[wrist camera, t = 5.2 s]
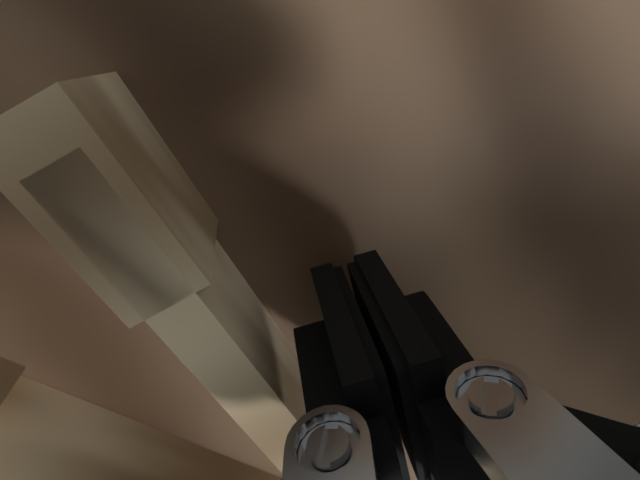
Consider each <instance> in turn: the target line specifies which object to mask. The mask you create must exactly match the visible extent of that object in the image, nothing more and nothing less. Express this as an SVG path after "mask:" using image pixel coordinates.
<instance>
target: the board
mask: <svg viewBox="0 0 640 480" xmlns="http://www.w3.org/2000/svg"><path fill="white" fill-rule="evenodd" d="M110 72H117V74H118V75H119V76H120V78H121V79H122V81H123V82H124V84H125V85H126V87H127V88H128V89H129V91H130V92H131V94H132V95H133V97H134V98H135V100H136V101H137V103H138V104H139V105H140V107H141V108H142V110H143V111H144V113H145V114H146V116H147V117H148V119H149V120H150V121H151V123H152V124H153V126H154V127H155V129H156V130H157V132H158V133H159V135H160V136H161V137H162V139H163V140H164V142H165V143H166V145H167V146H168V148H169V149H170V150H171V152H172V153H173V155H174V156H175V158H176V159H177V161H178V162H179V164H180V165H181V166H182V168H183V169H184V171H185V172H186V174H187V175H188V177H189V178H190V180H191V181H192V182H193V184H194V185H195V187H196V188H197V190H198V191H199V193H200V194H201V196H202V197H203V198H204V200H205V201H206V203H207V204H208V206H209V207H210V209H211V210H212V212H213V213H214V214H215V216H216V217H217V219H218V226H217V235H216V239H217V241H218V242H219V244H220V245H221V246H222V248H223V249H224V251H225V252H226V254H227V255H228V256H229V258H230V259H231V261H232V262H233V263H234V265H235V266H236V268H237V269H238V270H239V272H240V273H241V275H242V276H243V278H244V279H245V280H246V282H247V283H248V285H249V286H250V287H251V289H252V290H253V292H254V293H255V294H256V296H257V297H258V299H259V300H260V301H261V303H262V304H263V306H264V307H265V309H266V310H267V311H268V313H269V314H270V316H271V317H272V318H273V320H274V321H275V323H276V324H277V325H278V327H279V328H280V330H281V331H282V333H283V334H284V335H285V337H286V338H287V340H288V341H289V342H290V344H291V345H292V347H293V348H294V349H295V351H296V345H295V338H294V331H293V329H294V328H297V327H300V326H304V325H307V324H310V323H314V322H317V321H321V320H324V318H323V314H322V311H321V307H320V303H319V300H318V296H317V293H316V289H315V285H314V282H313V278H312V274H311V271H310V268H313V267H316V266H320V265H323V264H327V263H330V262H331V263H332V266H333V268H334V267H337V266H342V269H343V271H344V273H345V276H346V278H347V280H348V283H349V285H350V287H351V290H352V292H353V288H352V284H351V280H350V276H349V272H348V268H347V263H351V262H354V255H358V254H361V253H365V252H368V251H372V250H376V251H377V253H378V254H379V256H380V258H381V259H382V261H383V262H384V264H385V265H386V267H387V269H388V270H389V272H390V273H391V275H392V277H393V278H394V280H395V281H396V283H397V285H398V286H399V288H400V289H401V291H402V293H403V294H404V296H406V295H409V294H412V293H416V292H419V291H424V292H425V293H426V294H427V295H428V296H429V298H430V299H431V301H432V302H433V303H434V305H435V306H436V307H437V309H438V310H439V312H440V313H441V314H442V316H443V317H444V319H445V320H446V321H447V323H448V324H449V325H450V327H451V328H452V330H453V331H454V332H455V334H456V335H457V337H458V338H459V339H460V341H461V342H462V344H463V345H464V346H465V348H466V349H467V350H468V352H469V353H470V355H471V356H472V357H473V359H474V360H485V359H491V360H497V361H503V362H506V363H508V364H511V365H514V366H516V367H517V368H519V369H520V370H522V371H523V372H525V373H526V374H527V375H528V376H530V377H531V378H532V379H533V380H534V381H535V382H536V383H537V384H539V385H540V386H541V387H542V388H543V389H544V390H545V391H546V392H548V393H549V394H550V395H551V396H552V397H553V398H554V399H555V400H557V401H558V402H559V403H560V404H561V405H564V406H567V407H571V408H574V409H577V410H581V411H584V412H588V413H591V414H594V415H598V416H601V417H605V418H608V419H611V420H615V421H618V422H622V423H625V424H628V425H632V426H634V425H636V424H637V423H639V422H640V0H3V2H2V3H1V4H0V115H1V114H3V113H4V112H6V111H8V110H9V109H11V108H13V107H15V106H16V105H18V104H20V103H22V102H23V101H25V100H27V99H28V98H30V97H32V96H34V95H35V94H37V93H39V92H41V91H42V90H44V89H46V88H47V87H49V86H51V85H53V84H54V83H56V82H60V81H65V80H71V79H76V78H82V77H88V76H93V75H99V74H104V73H110ZM353 295H354V292H353ZM296 352H297V351H296ZM0 357H3V358H5V359H7V360H10V361H12V362H15V363H17V364H20V365H22V366H25V367H26V368H25V370H24V371H23V373H22V374H21V376H24V377H26V378H29V379H31V380H34V381H36V382H39V383H41V384H44V385H46V386H49V387H52V388H54V389H57V390H59V391H62V392H64V393H67V394H69V395H72V396H74V397H77V398H80V399H82V400H85V401H87V402H90V403H92V404H95V405H97V406H100V407H102V408H105V409H108V410H110V411H113V412H115V413H118V414H120V415H123V416H125V417H128V418H130V419H133V420H136V421H138V422H141V423H143V424H146V425H148V426H151V427H153V428H156V429H158V430H161V431H163V432H166V433H169V434H171V435H174V436H176V437H179V438H181V439H184V440H186V441H189V442H191V443H194V444H197V445H199V446H202V447H204V448H207V449H209V450H212V451H214V452H217V453H219V454H222V455H225V456H227V457H230V458H232V459H235V460H237V461H240V462H242V463H245V464H247V465H250V466H253V467H255V468H258V469H260V470H263V471H265V472H268V473H270V474H273V475H275V476H278V477H281V478H282V473H281V471H280V470H279V469H278V468H277V467H276V466H275V465H274V464H273V463H272V462H271V460H270V459H269V458H268V457H267V456H266V455H265V454H264V453H263V452H262V450H261V449H260V448H259V447H258V446H257V445H256V444H255V443H254V442H253V440H252V439H251V438H250V437H249V436H248V435H247V434H246V433H245V432H244V430H243V429H242V428H241V427H240V426H239V425H238V424H237V423H236V422H235V420H234V419H233V418H232V417H231V416H230V415H229V414H228V413H227V412H226V411H225V409H224V408H223V407H222V406H221V405H220V404H219V403H218V402H217V401H216V399H215V398H214V397H213V396H212V395H211V394H210V393H209V392H208V391H207V389H206V388H205V387H204V386H203V385H202V384H201V383H200V382H199V381H198V379H197V378H196V377H195V376H194V375H193V374H192V373H191V372H190V371H189V369H188V368H187V367H186V366H185V365H184V364H183V363H182V362H181V361H180V360H179V358H178V357H177V356H176V355H175V354H174V353H173V352H172V351H171V350H170V348H169V347H168V346H167V345H166V344H165V343H164V342H163V341H162V340H161V338H160V337H159V336H158V335H157V334H156V333H155V332H154V331H153V330H152V328H151V327H150V326H149V325H148V324H147V323H146V322H145V321H143V322H141V323H139V324H137V325H136V326H134V327H132V328H130V329H129V328H128V327H127V326H126V325H125V324H124V323H123V322H122V321H121V320H120V319H119V317H118V316H117V315H116V314H115V313H114V312H113V311H112V310H111V309H110V308H109V307H108V306H107V305H106V304H105V303H104V301H103V300H102V299H101V298H100V297H99V296H98V295H97V294H96V293H95V292H94V291H93V290H92V289H91V288H90V287H89V285H88V284H87V283H86V282H85V281H84V280H83V279H82V278H81V277H80V276H79V275H78V274H77V273H76V272H75V270H74V269H73V268H72V267H71V266H70V265H69V264H68V263H67V262H66V261H65V260H64V259H63V258H62V257H61V256H60V254H59V253H58V252H57V251H56V250H55V249H54V248H53V247H52V246H51V245H50V244H49V243H48V242H47V241H46V240H45V238H44V237H43V236H42V235H41V234H40V233H39V232H38V231H37V230H36V229H35V228H34V227H33V226H32V225H31V223H30V222H29V221H28V220H27V219H26V218H25V217H24V216H23V215H22V214H21V213H20V212H19V211H18V210H17V209H16V207H15V206H14V205H13V204H12V203H11V202H10V201H9V200H8V199H7V198H6V197H5V196H4V195H3V194H2V193H1V191H0ZM402 444H403V442H402ZM403 448H404V453H405V457H406V462H407V466H408V471H409V475H410V480H417V477H416V475H415V472H414V470H413V467H412V465H411V462H410V460H409V457H408V454H407V452H406V449H405V447H404V444H403Z"/></svg>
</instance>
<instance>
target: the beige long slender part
mask: <svg viewBox="0 0 640 480" xmlns="http://www.w3.org/2000/svg"><path fill="white" fill-rule="evenodd" d="M25 368H26V367H25V366H22V365H20V364H17V363H15V362H12V361H10V360H7V359H5V358H3V357H0V480H281V479H282V478H281V477H278V476H275V475H273V474H270V473H268V472H265V471H263V470H260V469H258V468H255V467H253V466H250V465H247V464H245V463H242V462H240V461H237V460H235V459H232V458H230V457H227V456H225V455H222V454H219V453H217V452H214V451H212V450H209V449H207V448H204V447H202V446H199V445H197V444H194V443H191V442H189V441H186V440H184V439H181V438H179V437H176V436H174V435H171V434H169V433H166V432H163V431H161V430H158V429H156V428H153V427H151V426H148V425H146V424H143V423H141V422H138V421H136V420H133V419H130V418H128V417H125V416H123V415H120V414H118V413H115V412H113V411H110V410H108V409H105V408H102V407H100V406H97V405H95V404H92V403H90V402H87V401H85V400H82V399H80V398H77V397H74V396H72V395H69V394H67V393H64V392H62V391H59V390H57V389H54V388H52V387H49V386H46V385H44V384H41V383H39V382H36V381H34V380H31V379H29V378H26V377H24V376H21V374H22V373H23V371H24V370H25Z"/></svg>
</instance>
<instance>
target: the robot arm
mask: <svg viewBox="0 0 640 480" xmlns="http://www.w3.org/2000/svg"><path fill="white" fill-rule="evenodd" d="M347 268H348V272H349V276H350V280H351V284H352V288H353V292H354V295H353V292H352V290H351V287H350V285H349V283H348V280H347V278H346V276H345V273H344V271H343V269H342V266H337V267H334V268H333V266H332V263H331V262H330V263H327V264H323V265H320V266H316V267H313V268H310V271H311V274H312V278H313V282H314V285H315V289H316V293H317V296H318V300H319V303H320V307H321V311H322V314H323V318H324V320H321V321H317V322H314V323H310V324H307V325H304V326H300V327H297V328H294V329H293V331H294V338H295V345H296V351H297V358H298V364H299V371H300V377H301V384H302V390H303V396H304V403H305V409H306V414H304V415H303V416H302V417H301V418H300V419H299V420H298V421H297V422H296V423H295V424H294V425H293V426H292V428H291V430H290V431H289V433H288V435H287V438H286V442H285V446H284V456H283V469H282V479H281V480H410V475H409V471H408V466H407V462H406V457H405V453H404V448H403V444H404V447H405V449H406V452H407V454H408V457H409V460H410V462H411V465H412V467H413V470H414V472H415V475H416V477H417V480H640V428H639V427H635V426H632V425H628V424H625V423H622V422H618V421H615V420H611V419H608V418H605V417H601V416H598V415H594V414H591V413H588V412H584V411H581V410H577V409H574V408H571V407H567V406H564V405H561V404H560V403H559V402H558V401H557V400H555V399H554V398H553V397H552V396H551V395H550V394H549V393H548V392H546V391H545V390H544V389H543V388H542V387H541V386H540V385H539V384H537V383H536V382H535V381H534V380H533V379H532V378H531V377H530V376H528V375H527V374H526V373H525V372H523V371H522V370H520V369H519V368H517V367H516V366H514V365H511V364H508V363H506V362H503V361H497V360H491V359H485V360H474V359H473V357H472V356H471V355H470V353H469V352H468V350H467V349H466V348H465V346H464V345H463V344H462V342H461V341H460V339H459V338H458V337H457V335H456V334H455V332H454V331H453V330H452V328H451V327H450V325H449V324H448V323H447V321H446V320H445V319H444V317H443V316H442V314H441V313H440V312H439V310H438V309H437V307H436V306H435V305H434V303H433V302H432V301H431V299H430V298H429V296H428V295H427V294H426V293H425V292H424V291H419V292H416V293H412V294H409V295H406V296H404V294H403V293H402V291H401V289H400V288H399V286H398V285H397V283H396V281H395V280H394V278H393V277H392V275H391V273H390V272H389V270H388V269H387V267H386V265H385V264H384V262H383V261H382V259H381V258H380V256H379V254H378V253H377V251H376V250H372V251H368V252H365V253H361V254H358V255H354V262H351V263H347ZM402 442H403V444H402Z"/></svg>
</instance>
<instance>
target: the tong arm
mask: <svg viewBox="0 0 640 480" xmlns="http://www.w3.org/2000/svg"><path fill="white" fill-rule="evenodd" d="M0 191H1V193H2V194H3V195H4V196H5V197H6V198H7V199H8V200H9V201H10V202H11V203H12V204H13V205H14V206H15V207H16V209H17V210H18V211H19V212H20V213H21V214H22V215H23V216H24V217H25V218H26V219H27V220H28V221H29V222H30V223H31V225H32V226H33V227H34V228H35V229H36V230H37V231H38V232H39V233H40V234H41V235H42V236H43V237H44V238H45V240H46V241H47V242H48V243H49V244H50V245H51V246H52V247H53V248H54V249H55V250H56V251H57V252H58V253H59V254H60V256H61V257H62V258H63V259H64V260H65V261H66V262H67V263H68V264H69V265H70V266H71V267H72V268H73V269H74V270H75V272H76V273H77V274H78V275H79V276H80V277H81V278H82V279H83V280H84V281H85V282H86V283H87V284H88V285H89V287H90V288H91V289H92V290H93V291H94V292H95V293H96V294H97V295H98V296H99V297H100V298H101V299H102V300H103V301H104V303H105V304H106V305H107V306H108V307H109V308H110V309H111V310H112V311H113V312H114V313H115V314H116V315H117V316H118V317H119V319H120V320H121V321H122V322H123V323H124V324H125V325H126V326H127V327H128V328H129V329H130V328H132V327H134V326H136V325H137V324H139V323H141V322H143V321H145V322H146V323H147V324H148V325H149V326H150V327H151V328H152V330H153V331H154V332H155V333H156V334H157V335H158V336H159V337H160V338H161V340H162V341H163V342H164V343H165V344H166V345H167V346H168V347H169V348H170V350H171V351H172V352H173V353H174V354H175V355H176V356H177V357H178V358H179V360H180V361H181V362H182V363H183V364H184V365H185V366H186V367H187V368H188V369H189V371H190V372H191V373H192V374H193V375H194V376H195V377H196V378H197V379H198V381H199V382H200V383H201V384H202V385H203V386H204V387H205V388H206V389H207V391H208V392H209V393H210V394H211V395H212V396H213V397H214V398H215V399H216V401H217V402H218V403H219V404H220V405H221V406H222V407H223V408H224V409H225V411H226V412H227V413H228V414H229V415H230V416H231V417H232V418H233V419H234V420H235V422H236V423H237V424H238V425H239V426H240V427H241V428H242V429H243V430H244V432H245V433H246V434H247V435H248V436H249V437H250V438H251V439H252V440H253V442H254V443H255V444H256V445H257V446H258V447H259V448H260V449H261V450H262V452H263V453H264V454H265V455H266V456H267V457H268V458H269V459H270V460H271V462H272V463H273V464H274V465H275V466H276V467H277V468H278V469H279V470H280V471H281V473H282V469H283V456H284V446H285V442H286V438H287V435H288V433H289V431H290V430H291V428H292V426H293V425H294V424H295V423H296V422H297V421H298V420H299V419H300V418H301V417H302V416H303V415H304V414H306V409H305V403H304V396H303V390H302V384H301V377H300V371H299V364H298V358H297V352H296V351H295V349H294V348H293V347H292V345H291V344H290V342H289V341H288V340H287V338H286V337H285V335H284V334H283V333H282V331H281V330H280V328H279V327H278V325H277V324H276V323H275V321H274V320H273V318H272V317H271V316H270V314H269V313H268V311H267V310H266V309H265V307H264V306H263V304H262V303H261V301H260V300H259V299H258V297H257V296H256V294H255V293H254V292H253V290H252V289H251V287H250V286H249V285H248V283H247V282H246V280H245V279H244V278H243V276H242V275H241V273H240V272H239V270H238V269H237V268H236V266H235V265H234V263H233V262H232V261H231V259H230V258H229V256H228V255H227V254H226V252H225V251H224V249H223V248H222V246H221V245H220V244H219V242H218V241H217V239H216V235H217V226H218V219H217V217H216V216H215V214H214V213H213V212H212V210H211V209H210V207H209V206H208V204H207V203H206V201H205V200H204V198H203V197H202V196H201V194H200V193H199V191H198V190H197V188H196V187H195V185H194V184H193V182H192V181H191V180H190V178H189V177H188V175H187V174H186V172H185V171H184V169H183V168H182V166H181V165H180V164H179V162H178V161H177V159H176V158H175V156H174V155H173V153H172V152H171V150H170V149H169V148H168V146H167V145H166V143H165V142H164V140H163V139H162V137H161V136H160V135H159V133H158V132H157V130H156V129H155V127H154V126H153V124H152V123H151V121H150V120H149V119H148V117H147V116H146V114H145V113H144V111H143V110H142V108H141V107H140V105H139V104H138V103H137V101H136V100H135V98H134V97H133V95H132V94H131V92H130V91H129V89H128V88H127V87H126V85H125V84H124V82H123V81H122V79H121V78H120V76H119V75H118V74H117V72H110V73H104V74H99V75H93V76H88V77H82V78H76V79H71V80H65V81H60V82H56V83H54V84H53V85H51V86H49V87H47V88H46V89H44V90H42V91H41V92H39V93H37V94H35V95H34V96H32V97H30V98H28V99H27V100H25V101H23V102H22V103H20V104H18V105H16V106H15V107H13V108H11V109H9V110H8V111H6V112H4V113H3V114H1V115H0Z"/></svg>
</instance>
